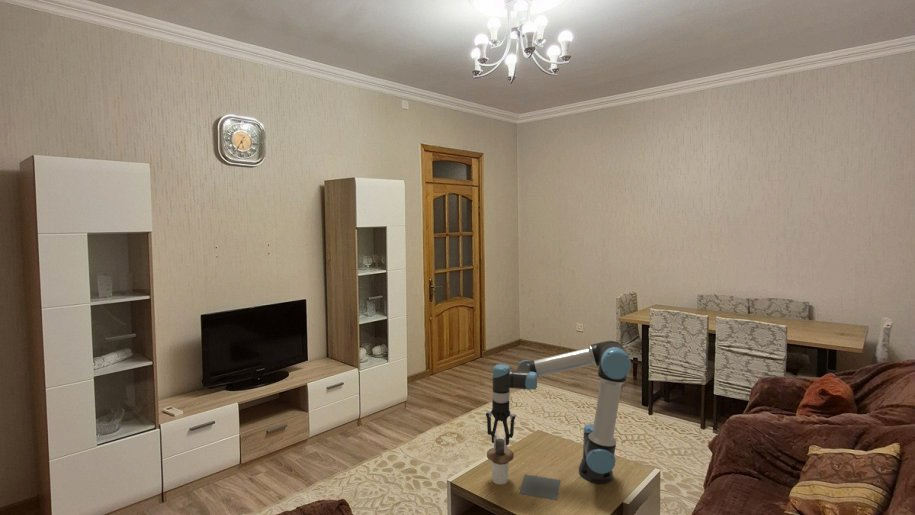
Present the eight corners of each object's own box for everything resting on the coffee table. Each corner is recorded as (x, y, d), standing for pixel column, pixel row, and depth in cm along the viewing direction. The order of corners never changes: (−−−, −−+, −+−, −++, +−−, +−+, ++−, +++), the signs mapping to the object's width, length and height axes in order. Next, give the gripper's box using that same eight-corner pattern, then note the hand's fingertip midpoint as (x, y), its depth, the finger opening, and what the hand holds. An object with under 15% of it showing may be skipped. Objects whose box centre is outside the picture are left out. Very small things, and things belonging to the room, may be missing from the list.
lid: (515, 451, 224) (515, 436, 223) (511, 464, 212) (511, 448, 212) (489, 447, 227) (490, 433, 226) (484, 460, 216) (484, 445, 215)
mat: (560, 481, 221) (560, 480, 221) (557, 501, 206) (557, 500, 206) (525, 475, 226) (525, 474, 226) (519, 494, 210) (519, 493, 210)
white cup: (488, 483, 219) (488, 461, 218) (495, 474, 226) (495, 454, 225) (504, 487, 216) (505, 466, 215) (511, 479, 223) (511, 458, 222)
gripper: (521, 399, 218) (520, 449, 221) (484, 394, 223) (483, 444, 226) (518, 405, 211) (517, 457, 214) (480, 400, 216) (479, 451, 218)
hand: (500, 450), depth 220 cm, fingers closed on lid, 4 cm apart
